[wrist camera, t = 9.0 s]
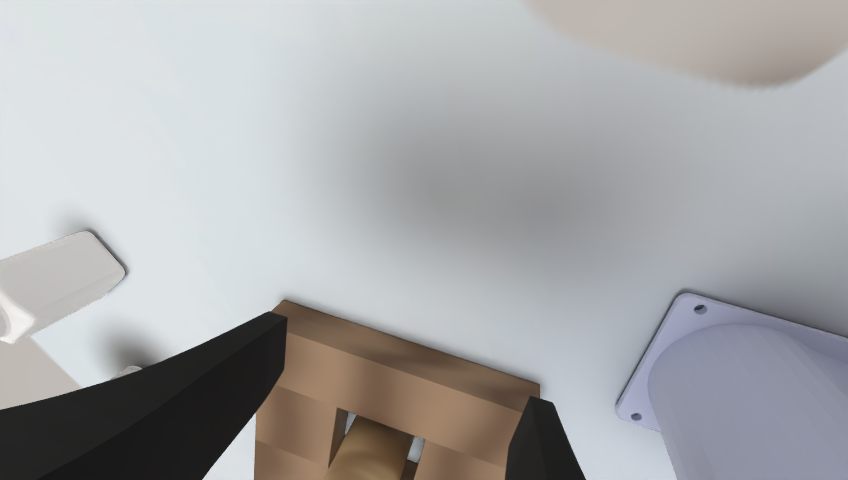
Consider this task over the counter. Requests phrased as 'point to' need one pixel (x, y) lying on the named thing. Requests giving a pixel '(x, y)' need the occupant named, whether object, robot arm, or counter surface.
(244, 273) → the counter surface
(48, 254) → the salt shaker
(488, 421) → the socket board
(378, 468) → the peg
